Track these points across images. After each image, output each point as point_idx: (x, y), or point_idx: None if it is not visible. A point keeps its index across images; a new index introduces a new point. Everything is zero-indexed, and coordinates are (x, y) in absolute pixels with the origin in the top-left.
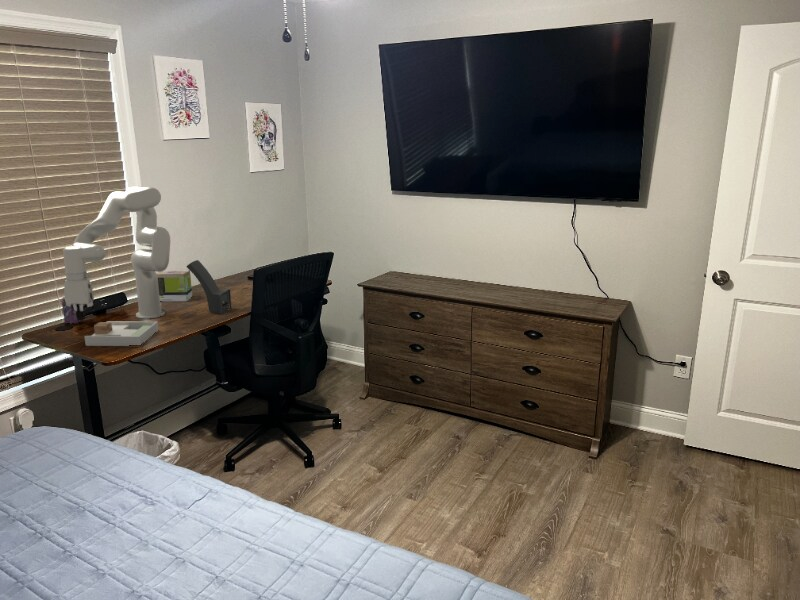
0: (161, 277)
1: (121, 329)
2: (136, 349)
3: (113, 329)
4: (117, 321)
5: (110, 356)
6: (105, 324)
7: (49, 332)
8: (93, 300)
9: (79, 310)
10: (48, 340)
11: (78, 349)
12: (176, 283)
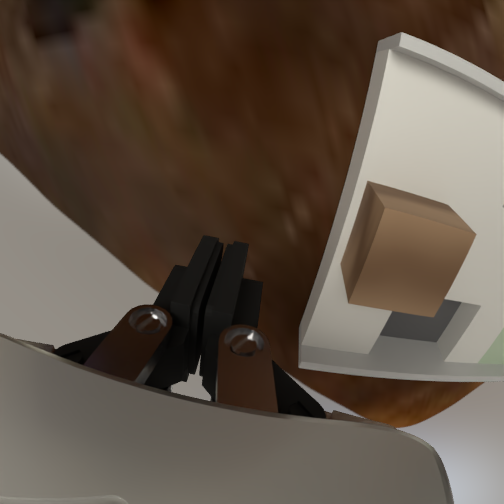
0: None
1: (495, 206)
2: None
3: (453, 191)
4: (485, 75)
5: (401, 417)
6: (433, 284)
7: (17, 75)
8: (430, 456)
9: (187, 350)
10: (68, 209)
11: (276, 360)
12: None
